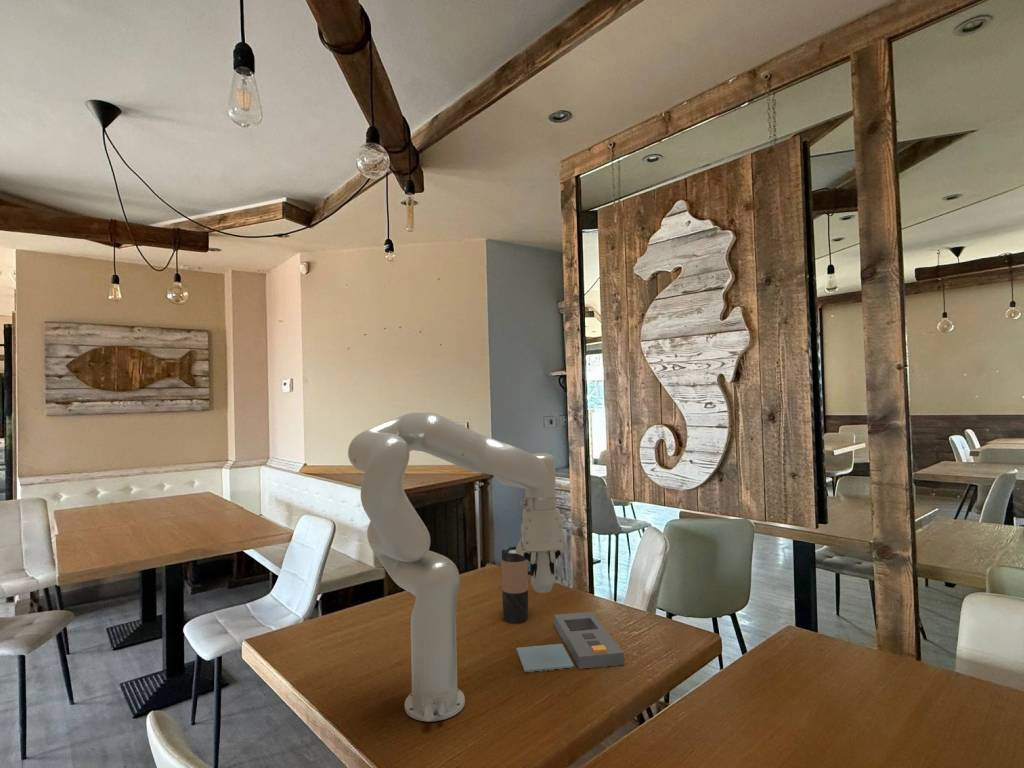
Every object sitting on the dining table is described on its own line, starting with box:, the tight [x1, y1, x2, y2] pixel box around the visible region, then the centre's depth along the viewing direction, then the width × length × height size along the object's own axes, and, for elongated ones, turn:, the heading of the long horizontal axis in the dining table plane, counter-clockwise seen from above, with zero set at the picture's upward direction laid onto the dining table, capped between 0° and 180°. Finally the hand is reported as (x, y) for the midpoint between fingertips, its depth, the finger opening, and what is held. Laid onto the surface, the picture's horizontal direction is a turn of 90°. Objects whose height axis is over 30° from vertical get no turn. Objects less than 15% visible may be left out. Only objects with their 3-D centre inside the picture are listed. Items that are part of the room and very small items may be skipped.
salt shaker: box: [530, 551, 555, 594], centre depth 138 cm, size 6×6×13 cm
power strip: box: [553, 611, 625, 670], centre depth 145 cm, size 26×11×4 cm, turn 9°
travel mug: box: [501, 546, 529, 625], centre depth 163 cm, size 8×8×20 cm
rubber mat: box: [515, 643, 575, 673], centre depth 137 cm, size 12×12×1 cm
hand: (542, 577), depth 138 cm, fingers closed on salt shaker, 3 cm apart
